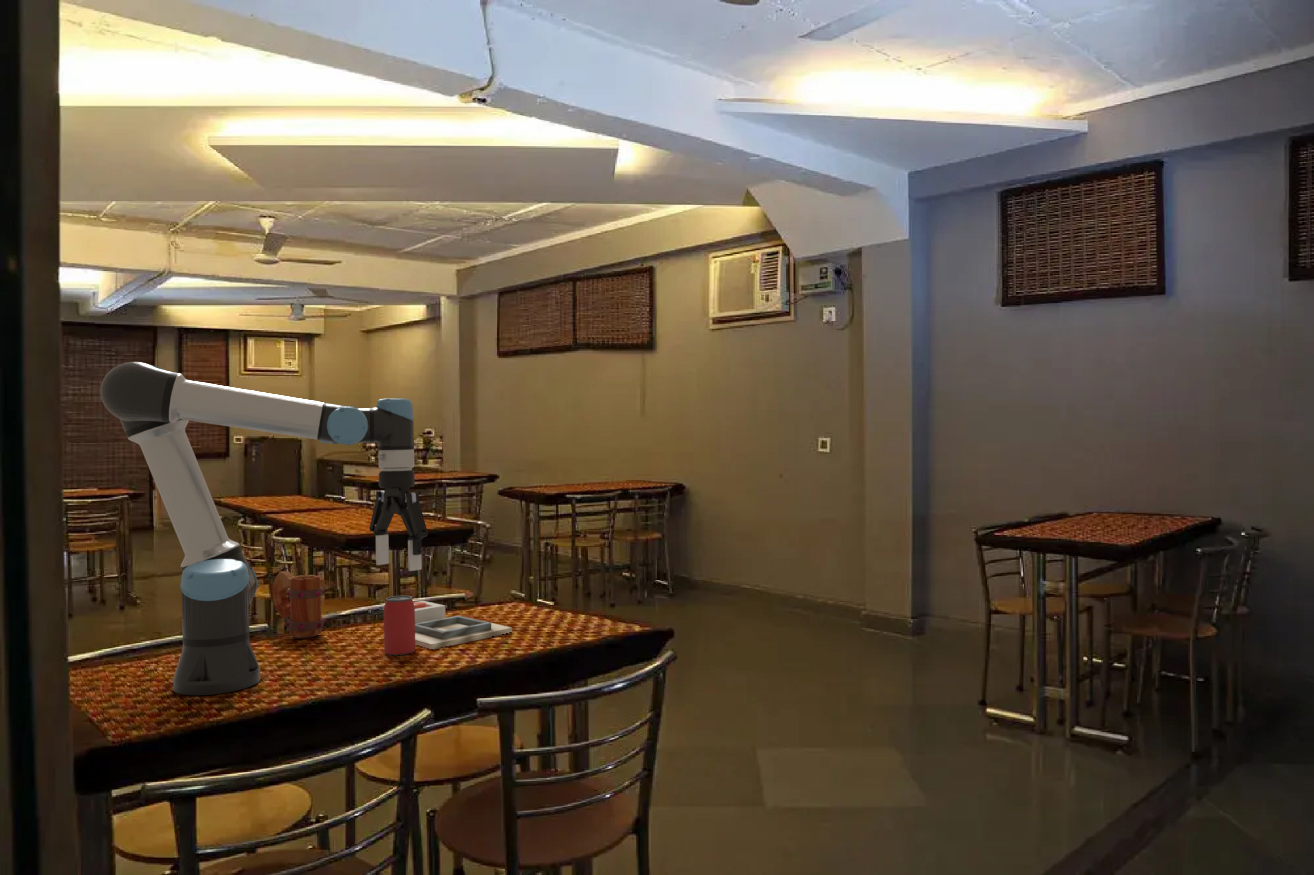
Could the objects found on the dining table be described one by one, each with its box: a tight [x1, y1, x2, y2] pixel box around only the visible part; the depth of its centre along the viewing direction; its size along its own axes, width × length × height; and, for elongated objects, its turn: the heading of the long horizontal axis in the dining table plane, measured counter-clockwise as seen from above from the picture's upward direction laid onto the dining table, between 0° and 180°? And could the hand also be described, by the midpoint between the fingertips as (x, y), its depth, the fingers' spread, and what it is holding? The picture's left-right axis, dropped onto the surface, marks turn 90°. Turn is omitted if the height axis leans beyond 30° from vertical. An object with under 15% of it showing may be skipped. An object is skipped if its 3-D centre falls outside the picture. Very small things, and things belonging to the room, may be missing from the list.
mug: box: [272, 570, 327, 640], centre depth 222 cm, size 15×8×15 cm, turn 62°
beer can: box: [383, 595, 416, 657], centre depth 204 cm, size 7×7×12 cm
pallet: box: [415, 615, 513, 650], centre depth 220 cm, size 22×18×3 cm
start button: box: [413, 601, 426, 609], centre depth 230 cm, size 5×5×4 cm
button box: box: [413, 600, 446, 624], centre depth 231 cm, size 10×10×5 cm
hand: (398, 567), depth 203 cm, fingers open, 13 cm apart
